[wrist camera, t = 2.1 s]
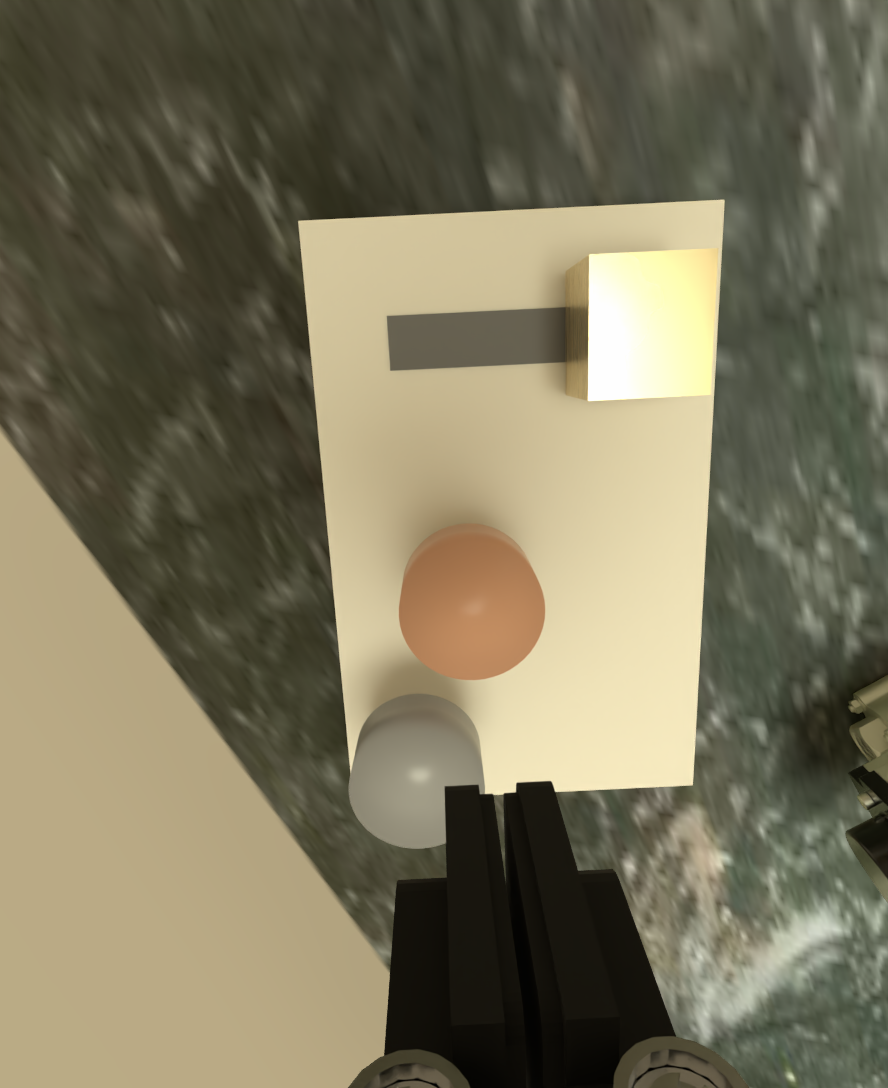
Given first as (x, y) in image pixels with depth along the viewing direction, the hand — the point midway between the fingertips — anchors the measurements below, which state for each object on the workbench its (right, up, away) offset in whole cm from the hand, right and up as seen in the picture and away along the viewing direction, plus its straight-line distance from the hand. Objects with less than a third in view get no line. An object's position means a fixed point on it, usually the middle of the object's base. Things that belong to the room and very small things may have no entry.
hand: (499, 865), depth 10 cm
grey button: (-2, -2, +15) cm, 15 cm away
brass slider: (+5, +12, +12) cm, 18 cm away
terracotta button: (0, +4, +13) cm, 14 cm away
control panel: (+2, +6, +17) cm, 19 cm away
